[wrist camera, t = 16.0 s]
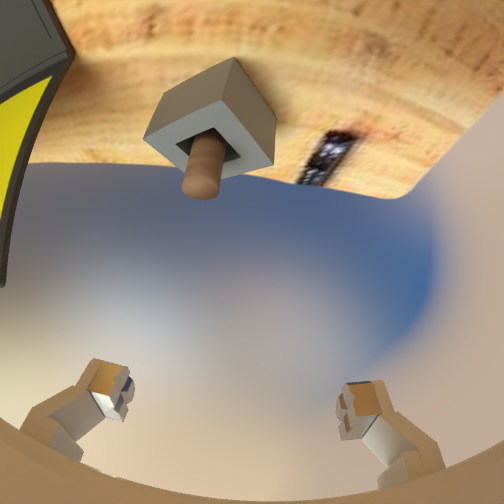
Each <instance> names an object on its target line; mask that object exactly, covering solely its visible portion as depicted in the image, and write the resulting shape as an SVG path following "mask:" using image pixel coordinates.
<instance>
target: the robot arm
mask: <svg viewBox="0 0 504 504" xmlns="http://www.w3.org/2000/svg"><path fill="white" fill-rule="evenodd" d="M129 373H130V371H129V369H128V367H126V366H122V365H118V364H114V363H110V362H106V361H103V360H99V359H95V358H94V359H92V360H91V361H90V362H89V364H88V365H87V367H86V369H85V371H84V372H83V374H82V376H81V377H80V379H79V381H78V382H77V384H76V386H70V387H69V388H67V389H65V390H63V391H62V392H60V393H58V394H56V395H54V396H52V397H51V398H49V399H47V400H45V401H43V402H42V403H40V404H38V405H36V406H34V407H32V409H31V410H30V412H29V414H28V416H27V417H26V419H25V421H24V422H23V424H22V426H21V428H20V430H18V429H17V428H15V427H13V426H12V425H10V424H9V423H7V422H6V421H5V420H3V419H2V418H0V504H504V440H503V441H501V442H499V443H497V444H496V445H494V446H492V447H491V448H489V449H486V450H485V451H483V452H481V453H479V454H477V455H475V456H473V457H471V458H468V459H466V460H464V461H462V462H460V463H458V464H455V465H453V466H450V467H448V468H446V467H445V464H444V461H443V459H442V455H441V452H440V450H439V447H438V444H437V442H435V440H433V439H432V438H431V437H429V436H428V435H427V434H425V433H424V432H423V431H422V430H420V429H419V428H418V427H417V426H415V425H414V424H413V423H412V422H410V421H409V420H408V419H407V418H405V417H404V416H403V415H402V414H400V413H399V412H395V411H394V408H393V405H392V402H391V400H390V397H389V394H388V391H387V389H386V386H385V383H384V381H383V380H377V381H363V382H352V383H345V384H344V385H343V387H342V392H343V393H342V394H340V395H339V397H338V399H337V402H336V414H337V418H338V419H339V420H340V421H341V423H340V425H339V431H340V437H341V440H353V439H362V441H363V442H364V443H365V444H366V445H367V447H368V448H369V449H370V450H371V451H372V452H373V453H374V454H375V455H376V456H377V458H378V459H379V460H380V461H381V462H382V463H383V464H384V465H385V466H386V467H387V469H386V470H385V471H384V472H383V473H382V474H381V475H379V477H378V478H377V482H378V487H379V489H378V490H374V491H369V492H365V493H359V494H353V495H347V496H341V497H334V498H325V499H315V500H303V501H279V502H278V501H277V502H276V501H273V502H271V501H270V502H269V501H268V502H266V501H265V502H264V501H240V500H227V499H217V498H209V497H201V496H195V495H189V494H183V493H178V492H173V491H168V490H163V489H160V488H155V487H151V486H147V485H144V484H140V483H136V482H133V481H129V480H127V479H123V478H120V477H117V476H114V475H112V474H109V473H106V472H103V471H100V470H98V469H95V468H93V467H90V466H88V465H85V464H83V463H80V461H81V458H82V456H83V453H84V452H83V449H82V448H81V447H80V446H79V445H78V444H77V443H76V441H77V440H78V439H80V438H81V437H82V436H84V435H85V434H86V433H87V432H89V431H90V430H91V429H92V428H94V427H95V426H96V425H97V424H99V423H100V422H101V421H102V420H104V419H105V417H106V418H110V419H114V420H117V421H121V422H124V419H125V417H126V414H127V412H128V407H127V404H128V403H129V402H131V401H132V399H133V396H134V391H135V386H134V382H133V380H132V379H131V378H130V377H129Z"/></svg>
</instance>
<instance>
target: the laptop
mask: <svg viewBox="0 0 504 504" xmlns="http://www.w3.org/2000/svg"><path fill="white" fill-rule="evenodd" d="M74 53H75V51H74V49H73V47H72V45H71V43H70V42H69V40H68V38H67V36H66V34H65V32H64V30H63V28H62V26H61V24H60V22H59V20H58V17H57V15H56V13H55V11H54V9H53V7H52V5H51V3H50V1H49V0H0V288H3V287H4V286H5V284H6V274H7V263H8V253H9V246H10V238H11V232H12V226H13V221H14V215H15V210H16V205H17V201H18V197H19V193H20V189H21V185H22V181H23V178H24V174H25V170H26V167H27V164H28V161H29V158H30V155H31V152H32V149H33V146H34V143H35V140H36V138H37V135H38V132H39V130H40V127H41V125H42V122H43V120H44V118H45V115H46V113H47V111H48V108H49V106H50V104H51V102H52V100H53V98H54V95H55V93H56V91H57V89H58V87H59V85H60V83H61V82H62V80H63V78H64V76H65V74H66V72H67V70H68V69H69V67H70V65H71V63H72V62H73V61H74V56H73V54H74Z"/></svg>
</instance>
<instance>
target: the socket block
mask: <svg viewBox="0 0 504 504" xmlns="http://www.w3.org/2000/svg"><path fill="white" fill-rule="evenodd" d="M213 127H214V128H215V129H216V130H217V131H218V132H219V133H220V134H221V135H222V136H223V137H224V138H225V139H226V141H227V146H226V151H225V157H224V163H223V169H222V175H221V179H225V178H228V177H232V176H235V175H239V174H242V173H246V172H250V171H253V170H257V169H261V168H265V167H269V166H273V165H274V152H275V131H276V116H275V114H274V113H273V111H272V110H271V108H270V107H269V105H268V104H267V103H266V101H265V100H264V98H263V97H262V95H261V94H260V92H259V91H258V89H257V88H256V87H255V85H254V84H253V82H252V81H251V80H250V78H249V77H248V76H247V74H246V73H245V71H244V70H243V69H242V67H241V66H240V65H239V63H238V62H237V61H236V59H235V58H234V57H232V58H230V59H228V60H226V61H224V62H222V63H219V64H217V65H215V66H213V67H211V68H209V69H207V70H205V71H203V72H201V73H199V74H197V75H195V76H193V77H192V78H190V79H188V80H186V81H184V82H182V83H181V84H179V85H177V86H175V87H174V88H172V89H170V90H169V91H167V92H165V93H164V94H163V96H162V98H161V100H160V102H159V104H158V106H157V108H156V110H155V112H154V115H153V117H152V119H151V121H150V123H149V126H148V128H147V130H146V132H145V135H144V137H143V140H144V141H146V142H147V143H148V144H149V145H151V146H152V147H153V148H154V149H155V150H157V151H158V152H159V153H160V154H162V155H163V156H164V157H165V158H167V159H168V160H169V161H170V162H171V163H173V164H174V165H175V166H176V167H178V168H179V169H180V170H181V171H182V172H184V173H185V172H186V168H187V164H188V160H189V156H190V152H191V148H192V145H193V141H194V137H195V135H196V134H199V133H201V132H203V131H206V130H208V129H210V128H213Z"/></svg>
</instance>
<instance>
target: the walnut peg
mask: <svg viewBox="0 0 504 504" xmlns="http://www.w3.org/2000/svg"><path fill="white" fill-rule="evenodd" d="M226 146H227V141H226V139H225V138H224V137H223V136H222V135H221V134H220V133H219V132H218V131H217V130H216V129H215V128H214V127H213V128H210V129H208V130H206V131H203V132H201V133H199V134H196V135H195V137H194V141H193V145H192V148H191V152H190V156H189V160H188V164H187V168H186V172H185V176H184V180H183V184H182V190H183V192H184V193H185V194H186V195H188V196H190V197H192V198H195V199H200V200H209V199H213V198H215V197H216V196H217V195H218V193H219V187H220V181H221V175H222V169H223V163H224V157H225V151H226Z"/></svg>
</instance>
